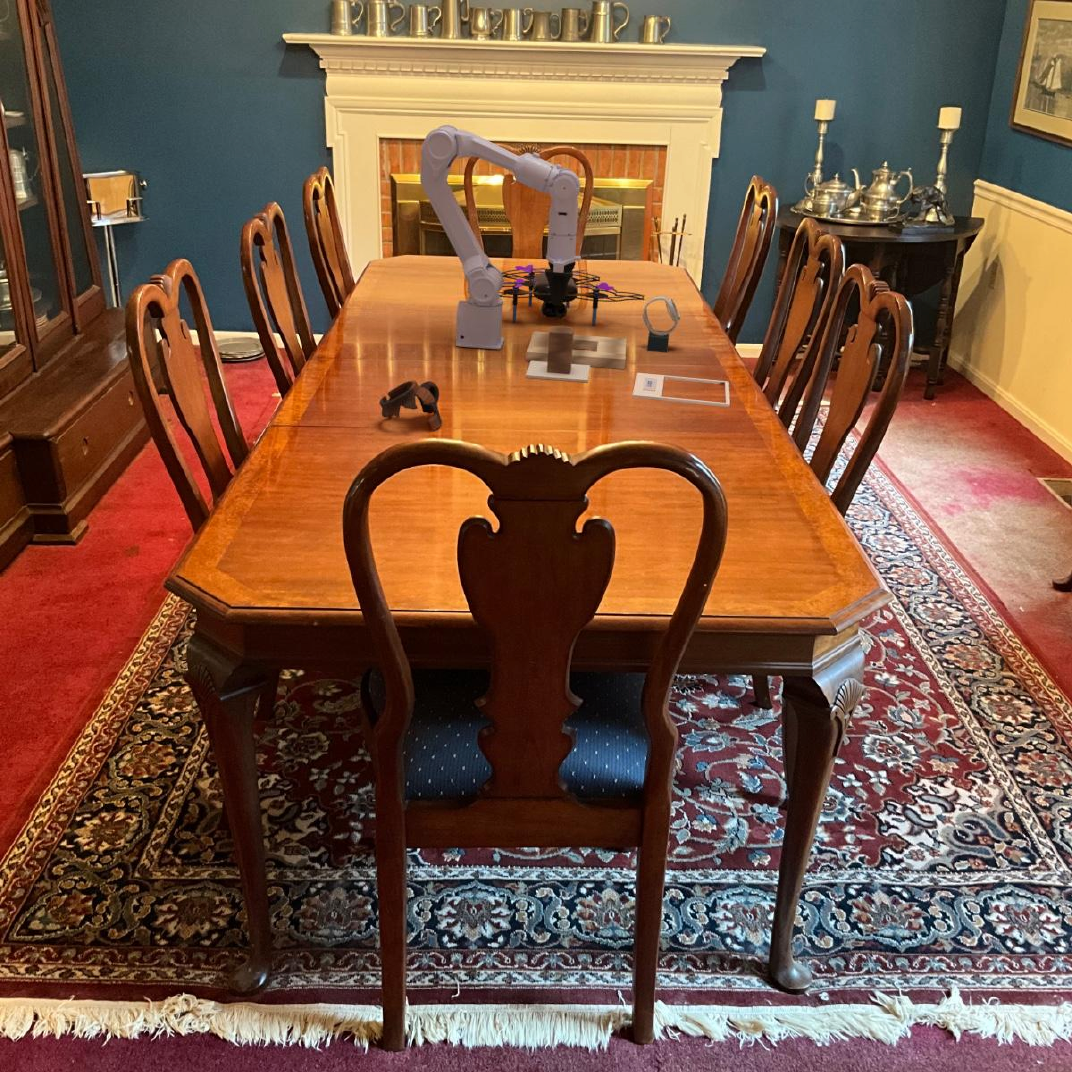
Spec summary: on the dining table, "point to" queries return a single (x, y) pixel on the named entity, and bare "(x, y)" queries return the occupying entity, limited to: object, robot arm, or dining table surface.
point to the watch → (660, 338)
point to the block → (560, 350)
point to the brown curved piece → (413, 401)
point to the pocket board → (607, 348)
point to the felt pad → (540, 372)
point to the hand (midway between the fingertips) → (558, 300)
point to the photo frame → (653, 384)
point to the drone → (542, 292)
